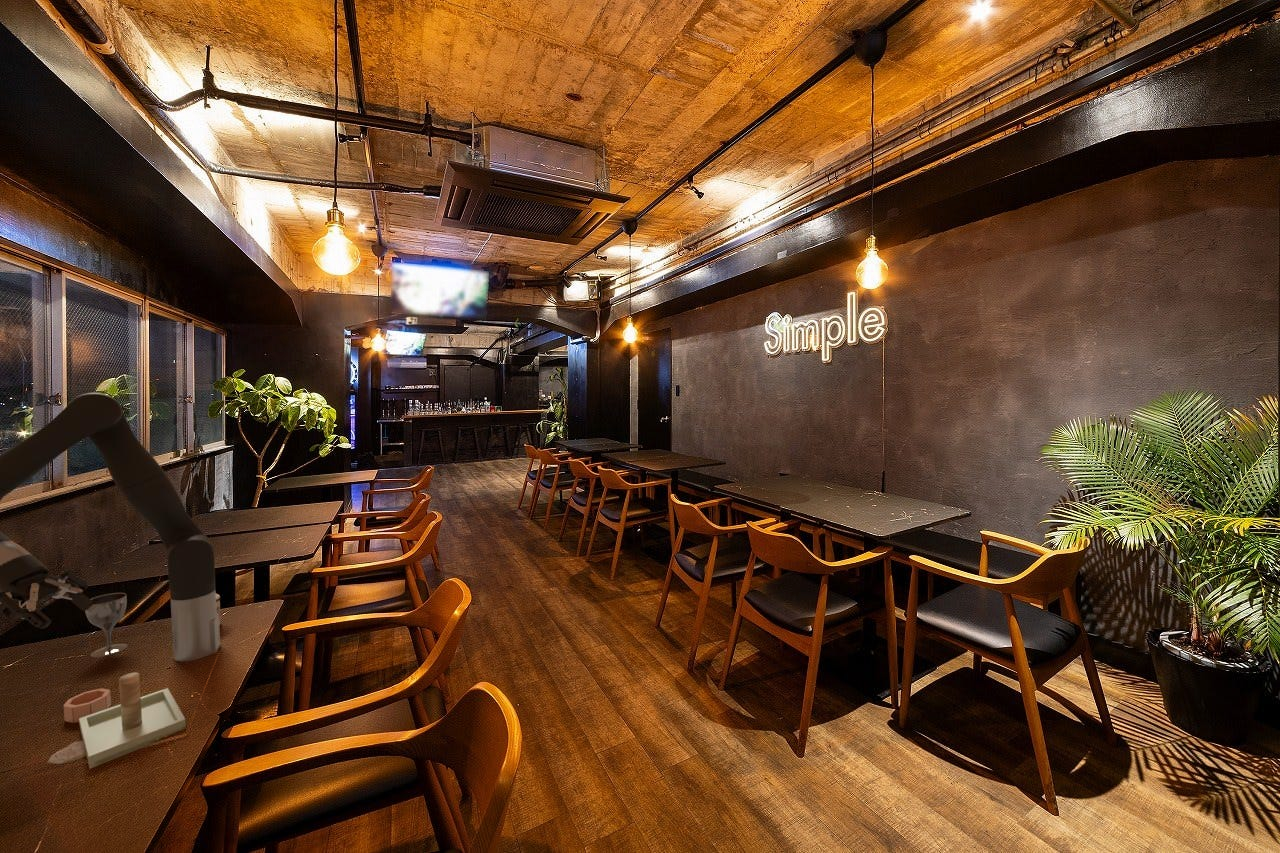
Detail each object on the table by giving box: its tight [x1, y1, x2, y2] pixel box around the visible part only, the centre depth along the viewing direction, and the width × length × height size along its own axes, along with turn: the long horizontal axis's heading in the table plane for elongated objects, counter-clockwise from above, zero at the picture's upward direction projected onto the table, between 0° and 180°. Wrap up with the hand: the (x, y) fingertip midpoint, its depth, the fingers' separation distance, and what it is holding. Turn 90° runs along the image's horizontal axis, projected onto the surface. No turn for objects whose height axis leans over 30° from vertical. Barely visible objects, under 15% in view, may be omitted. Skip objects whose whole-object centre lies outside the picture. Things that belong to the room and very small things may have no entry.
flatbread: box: [47, 739, 87, 765], centre depth 100 cm, size 8×8×1 cm
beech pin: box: [118, 672, 142, 730], centre depth 107 cm, size 3×3×11 cm
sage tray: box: [78, 687, 187, 769], centre depth 107 cm, size 18×14×2 cm
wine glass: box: [84, 592, 129, 658], centre depth 138 cm, size 8×8×15 cm
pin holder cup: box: [63, 688, 112, 724], centre depth 112 cm, size 7×7×4 cm
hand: (69, 616), depth 110 cm, fingers open, 8 cm apart
